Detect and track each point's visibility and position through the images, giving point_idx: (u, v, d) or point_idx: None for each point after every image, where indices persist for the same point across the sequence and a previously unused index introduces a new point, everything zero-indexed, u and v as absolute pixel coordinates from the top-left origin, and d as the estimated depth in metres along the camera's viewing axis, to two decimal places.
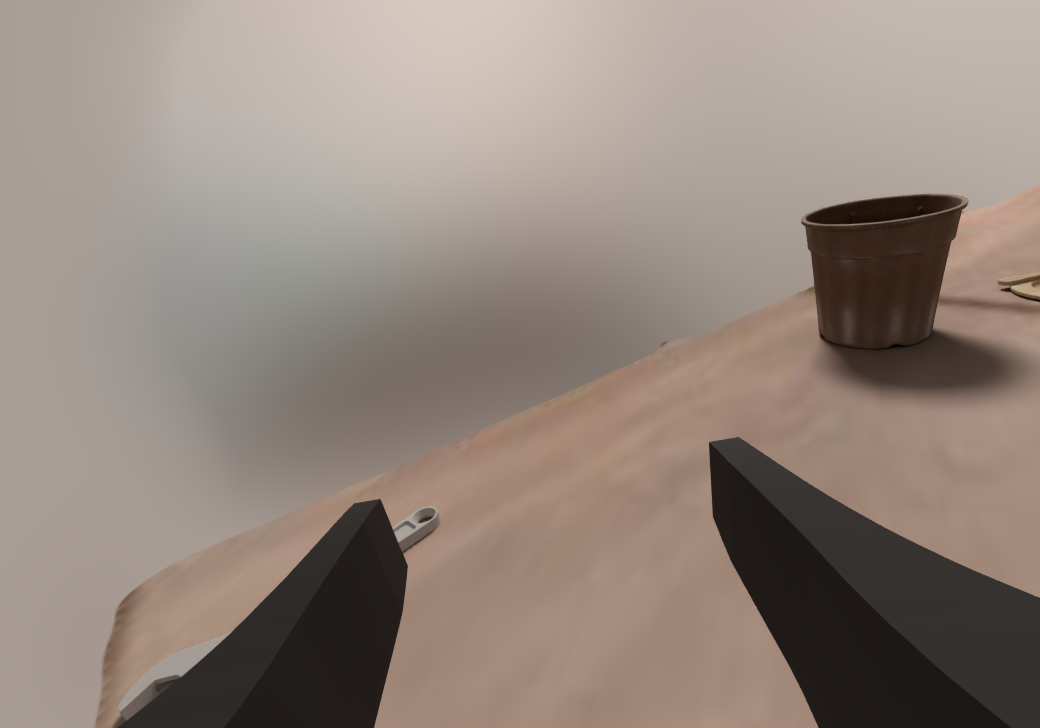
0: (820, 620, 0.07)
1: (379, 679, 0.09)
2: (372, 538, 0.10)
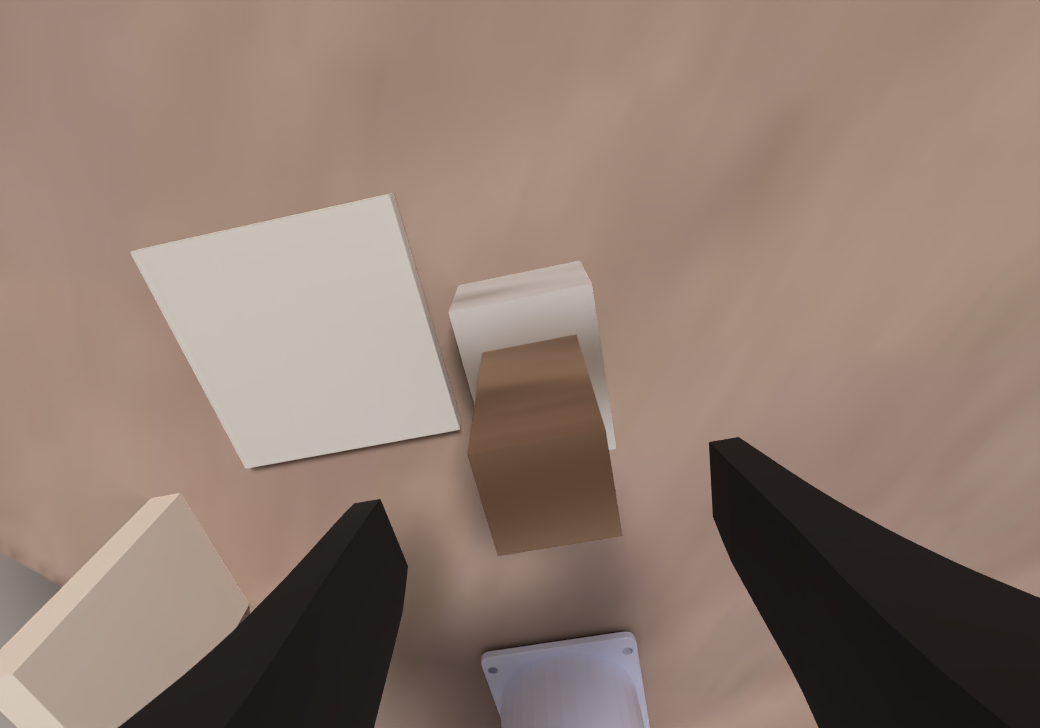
0: (820, 620, 0.07)
1: (379, 679, 0.09)
2: (372, 538, 0.10)
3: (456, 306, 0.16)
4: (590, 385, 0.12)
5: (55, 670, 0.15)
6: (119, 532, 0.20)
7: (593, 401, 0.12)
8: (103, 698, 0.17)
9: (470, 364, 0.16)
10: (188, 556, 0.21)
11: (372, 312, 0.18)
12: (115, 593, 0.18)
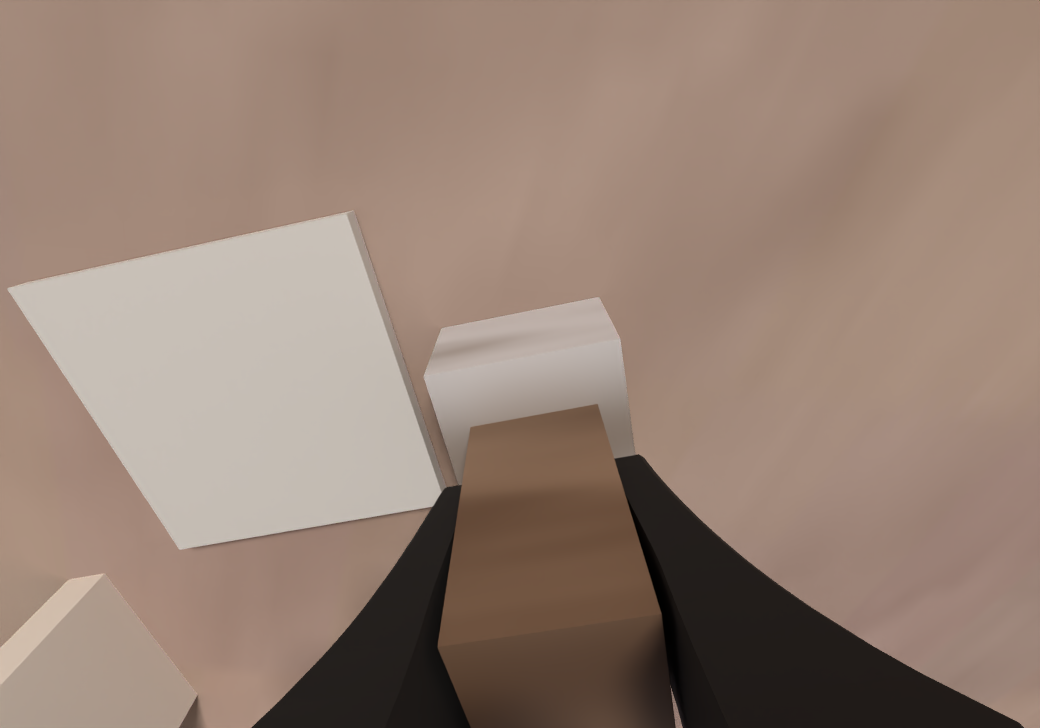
0: (673, 641, 0.07)
1: None
2: None
3: (435, 365, 0.12)
4: (626, 506, 0.08)
5: None
6: (20, 631, 0.16)
7: (634, 542, 0.08)
8: None
9: (454, 442, 0.12)
10: (112, 652, 0.17)
11: (330, 364, 0.14)
12: (0, 724, 0.14)
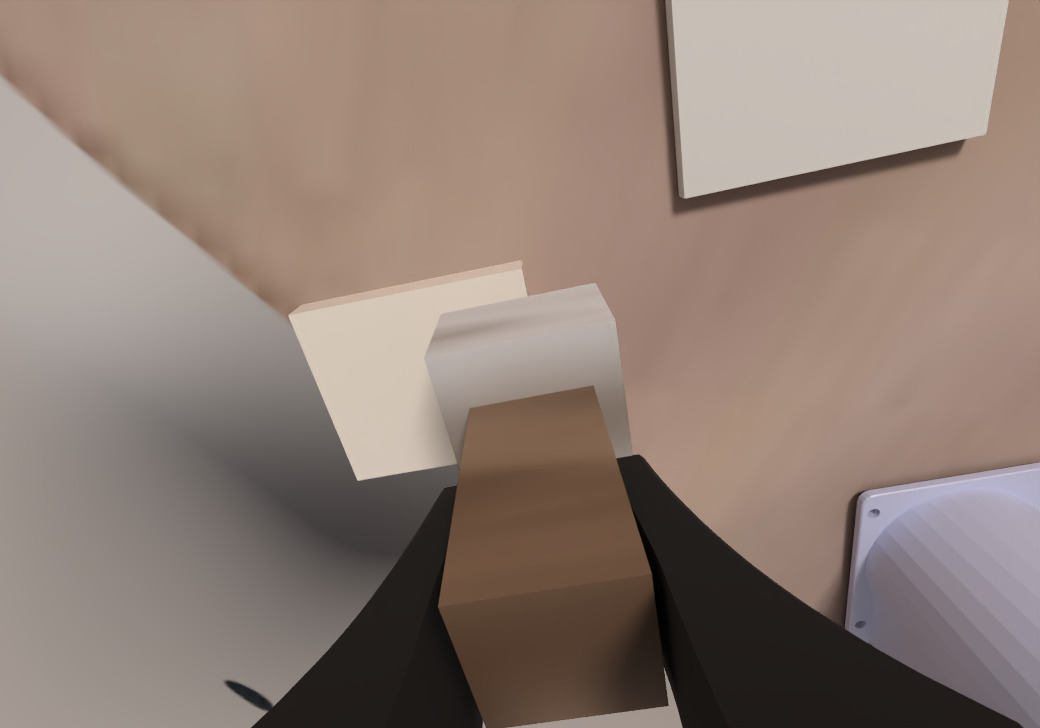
0: (673, 641, 0.07)
1: None
2: None
3: (435, 348, 0.12)
4: (620, 478, 0.09)
5: (321, 338, 0.17)
6: None
7: (627, 510, 0.08)
8: (353, 390, 0.18)
9: (454, 423, 0.12)
10: None
11: None
12: (395, 318, 0.17)
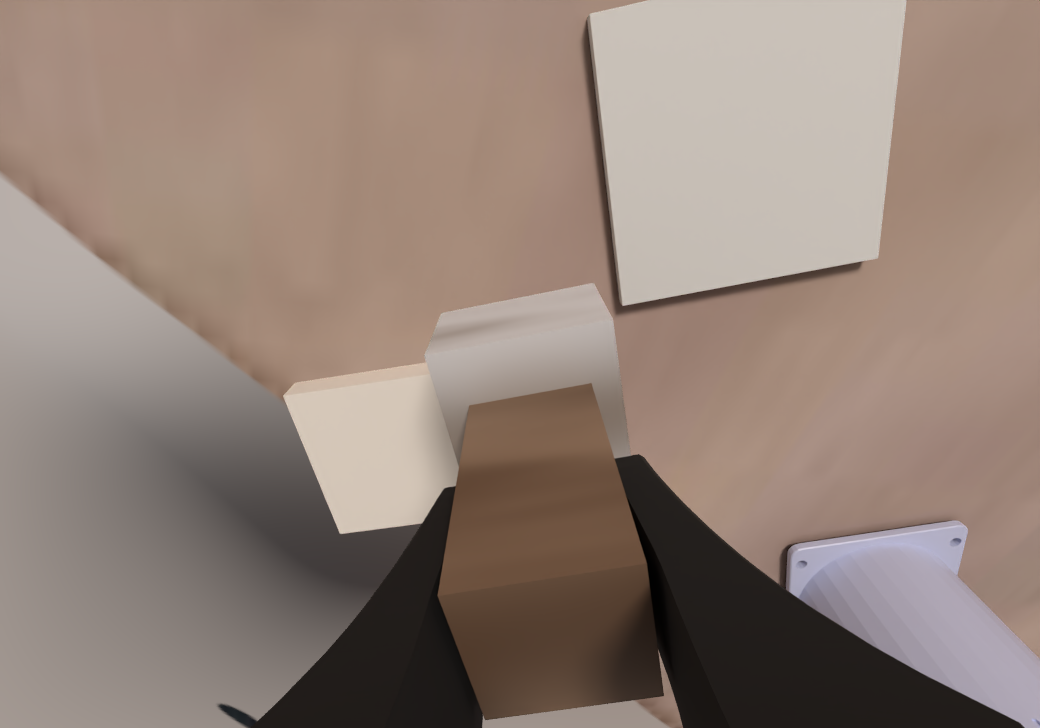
0: (674, 641, 0.07)
1: None
2: None
3: (435, 346, 0.12)
4: (616, 472, 0.09)
5: (311, 415, 0.19)
6: None
7: (623, 503, 0.08)
8: (339, 459, 0.20)
9: (454, 420, 0.12)
10: None
11: (836, 100, 0.15)
12: (377, 401, 0.19)
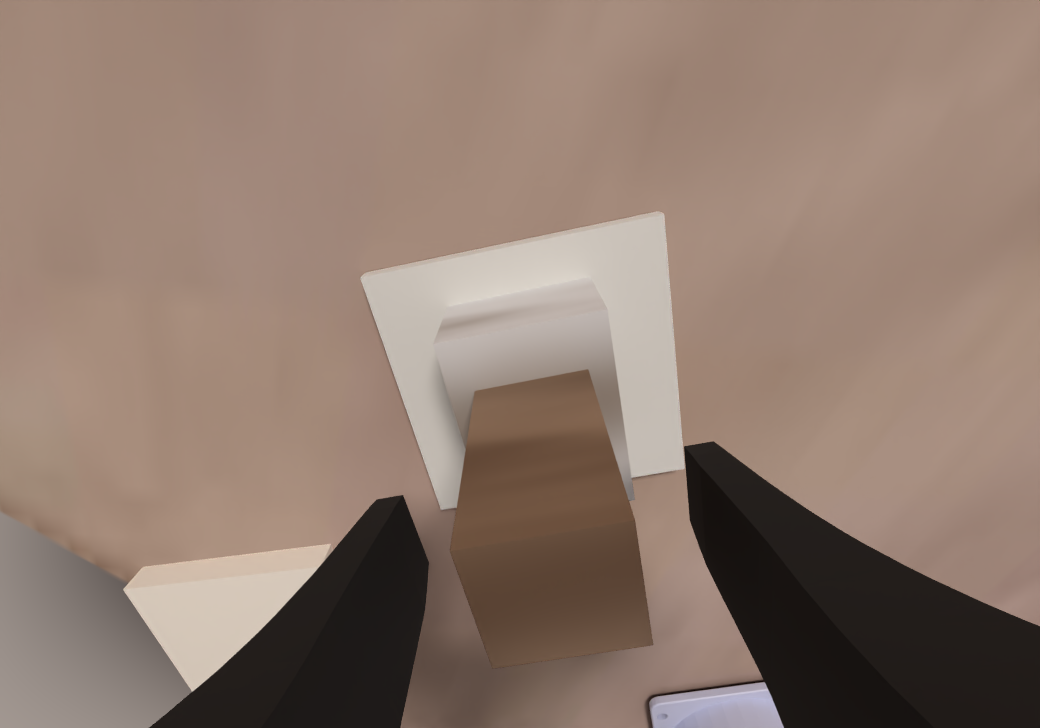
0: (783, 625, 0.07)
1: (404, 675, 0.09)
2: (396, 534, 0.10)
3: (443, 335, 0.13)
4: (610, 446, 0.10)
5: (153, 605, 0.20)
6: None
7: (615, 471, 0.09)
8: (186, 640, 0.21)
9: (460, 404, 0.13)
10: None
11: (616, 343, 0.16)
12: (216, 595, 0.20)
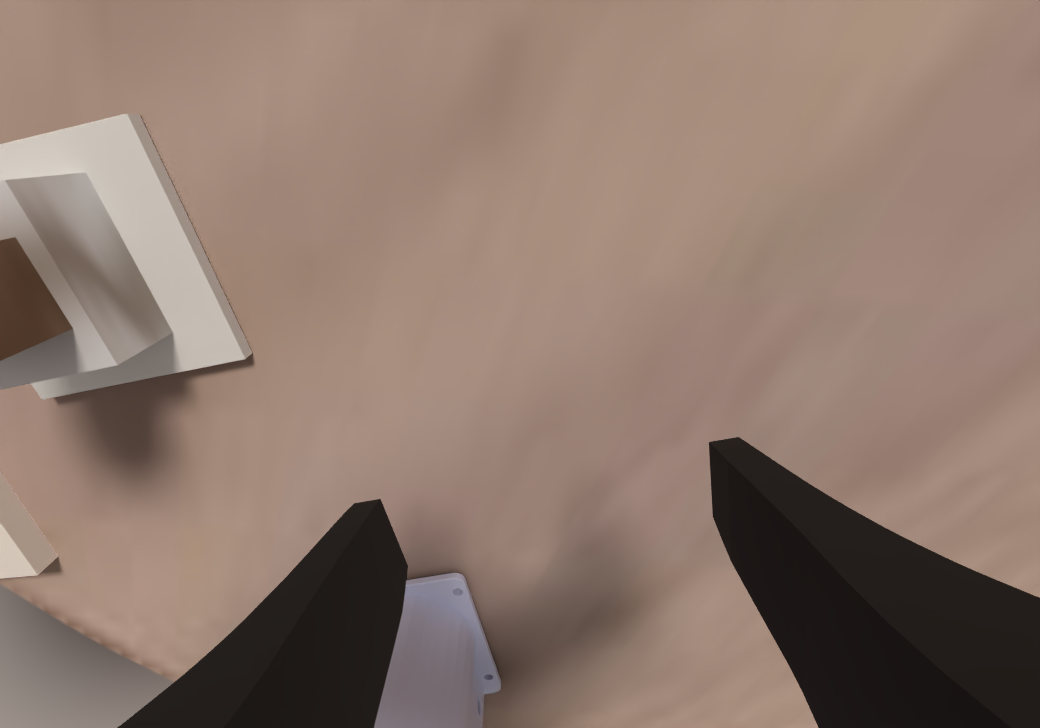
0: (820, 620, 0.07)
1: (379, 679, 0.09)
2: (372, 538, 0.10)
3: None
4: None
5: None
6: None
7: None
8: None
9: None
10: None
11: (134, 236, 0.18)
12: None
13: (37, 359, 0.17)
